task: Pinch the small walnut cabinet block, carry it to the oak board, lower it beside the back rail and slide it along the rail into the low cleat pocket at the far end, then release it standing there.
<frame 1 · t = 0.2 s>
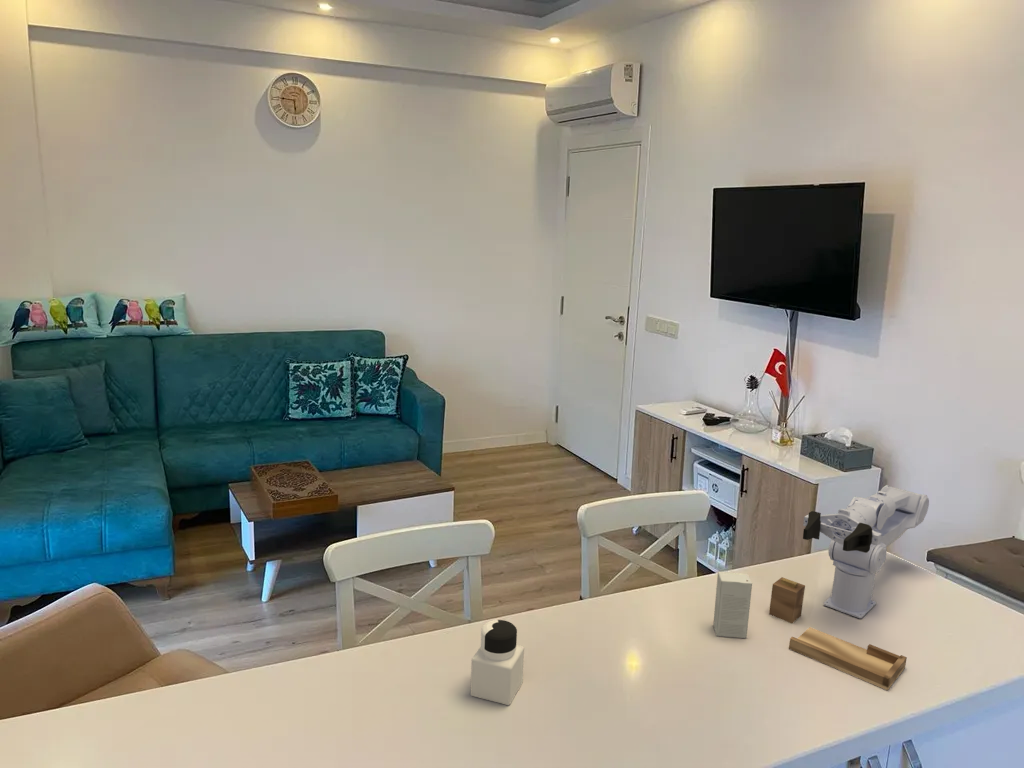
hand: (824, 540, 143), 21 cm above the kitchen counter, tool horizontal, fingers open, 7 cm apart
skincare box: (728, 632, 149), on the kitchen counter
medicine bottle: (496, 690, 128), on the kitchen counter
cabinet block: (785, 615, 157), on the kitchen counter
cleat board: (845, 658, 142), on the kitchen counter
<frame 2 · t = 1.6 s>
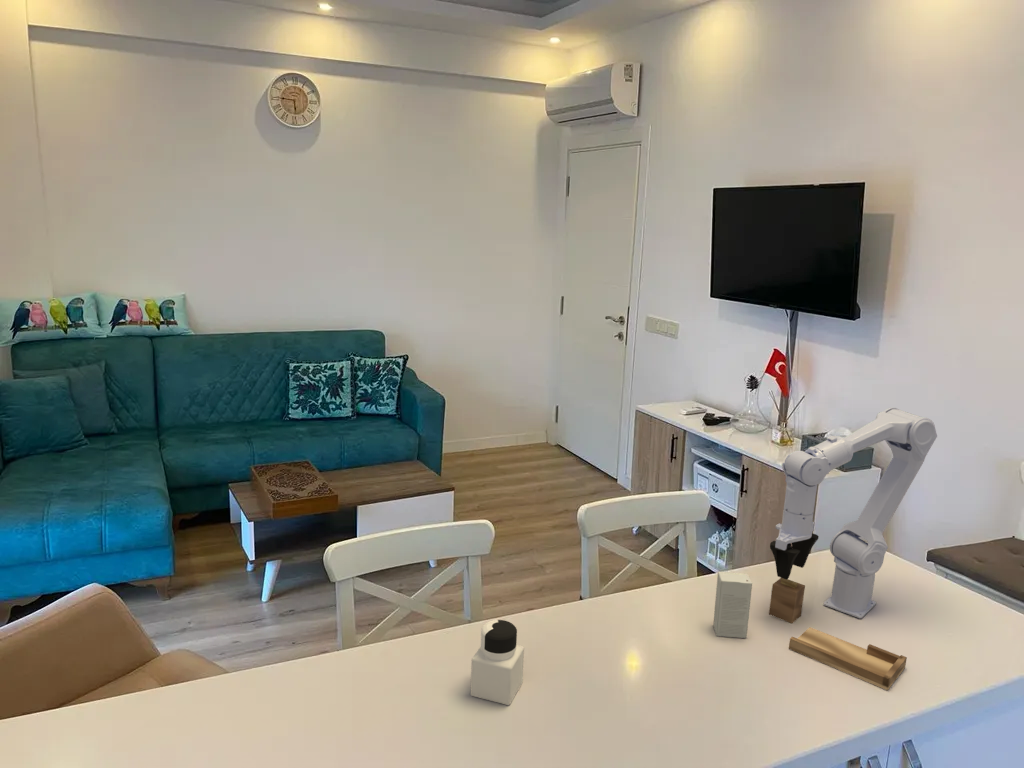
hand: (790, 571, 154), 10 cm above the kitchen counter, tool pointing down, fingers open, 7 cm apart
nothing on the kitchen counter moved.
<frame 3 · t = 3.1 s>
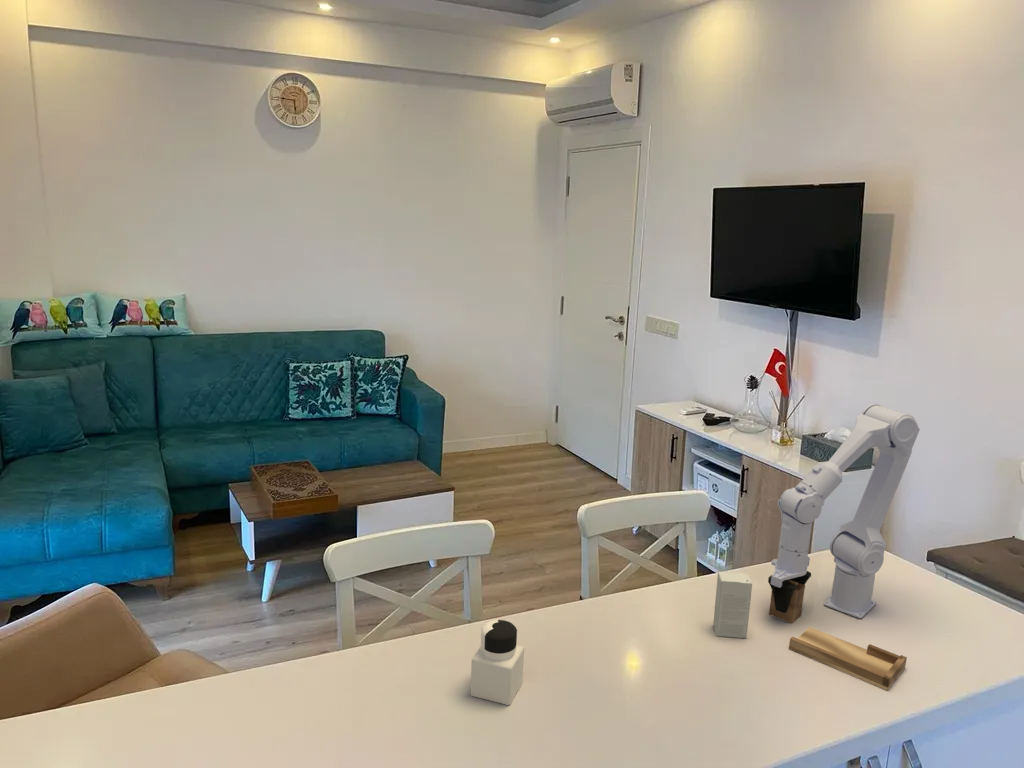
hand: (786, 606, 156), 2 cm above the kitchen counter, tool pointing down, fingers closed on cabinet block, 4 cm apart
cabinet block: (785, 615, 157), on the kitchen counter, touching gripper
everything else where it was.
when the fingers open (3 cm above the kitchen counter, at t = 9.4 s): cabinet block stays where it is, resting on cleat board.
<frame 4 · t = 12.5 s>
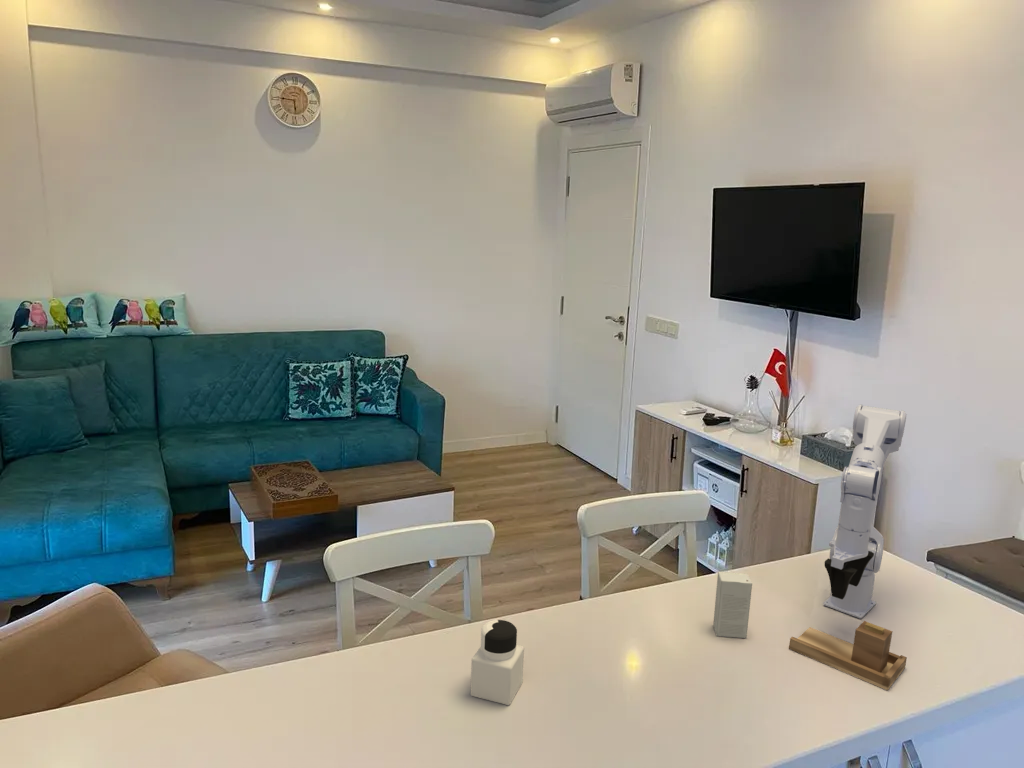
hand: (844, 590, 147), 10 cm above the kitchen counter, tool pointing down, fingers open, 7 cm apart
cabinet block: (868, 664, 139), point 1 cm above the kitchen counter, touching cleat board
everything else where it was.
at the end: cabinet block 0.7 cm from the target spot, point 0.6 cm above the kitchen counter; cabinet block tilted 0°; the gripper is holding nothing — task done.
